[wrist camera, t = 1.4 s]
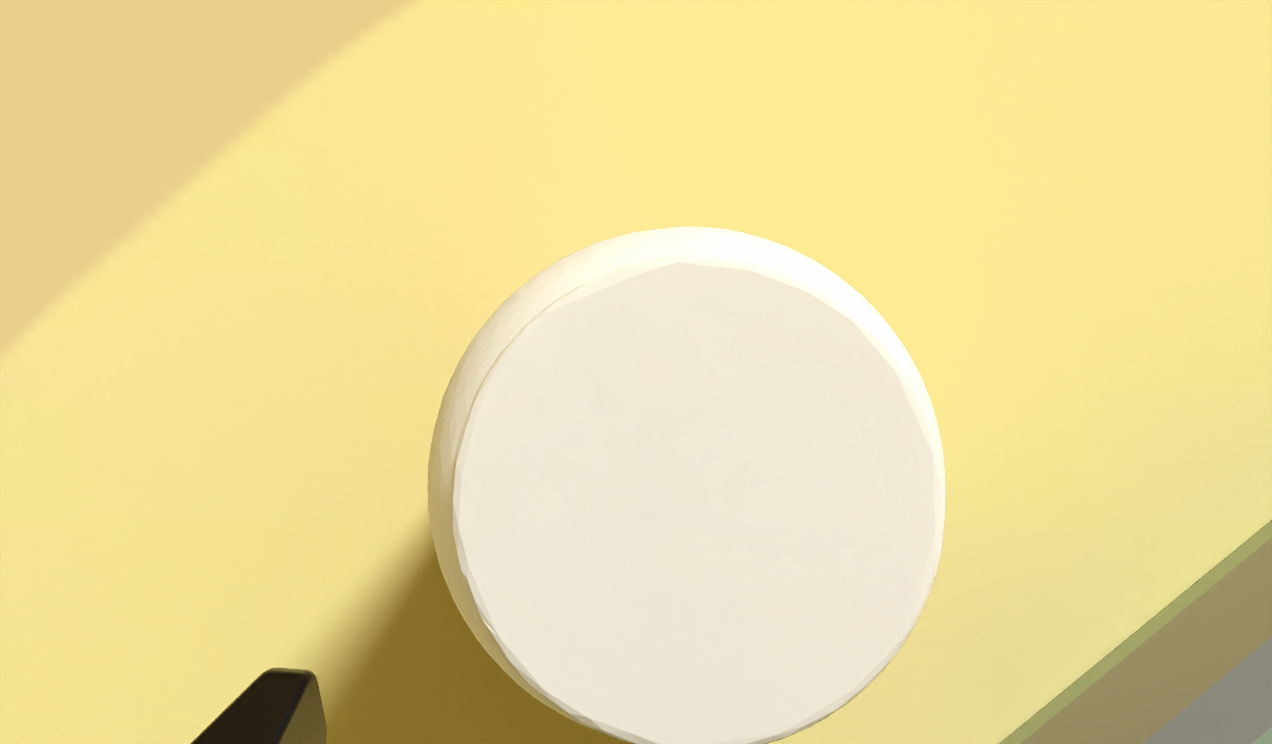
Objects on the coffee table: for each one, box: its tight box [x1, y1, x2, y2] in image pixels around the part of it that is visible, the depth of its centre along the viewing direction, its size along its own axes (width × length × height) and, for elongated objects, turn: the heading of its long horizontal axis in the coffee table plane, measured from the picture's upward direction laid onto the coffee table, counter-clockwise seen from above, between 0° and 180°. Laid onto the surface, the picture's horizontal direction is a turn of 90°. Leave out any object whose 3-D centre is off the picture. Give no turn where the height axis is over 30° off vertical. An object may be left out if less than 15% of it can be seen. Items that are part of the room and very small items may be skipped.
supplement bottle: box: [428, 227, 945, 744], centre depth 16 cm, size 7×7×13 cm
